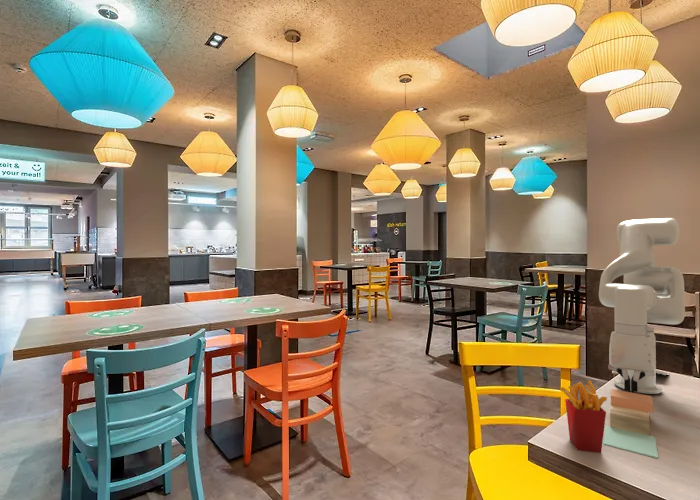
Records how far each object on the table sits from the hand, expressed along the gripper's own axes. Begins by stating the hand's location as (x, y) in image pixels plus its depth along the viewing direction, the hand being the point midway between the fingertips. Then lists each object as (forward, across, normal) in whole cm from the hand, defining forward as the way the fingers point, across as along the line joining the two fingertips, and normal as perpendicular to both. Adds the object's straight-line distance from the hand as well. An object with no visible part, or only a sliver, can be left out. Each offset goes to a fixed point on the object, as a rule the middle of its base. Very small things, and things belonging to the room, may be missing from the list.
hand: (630, 393), depth 107 cm
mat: (+5, 0, +22) cm, 22 cm away
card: (+1, 0, +7) cm, 7 cm away
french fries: (+5, +10, +30) cm, 32 cm away
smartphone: (+4, -6, -35) cm, 35 cm away
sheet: (+5, 0, +8) cm, 10 cm away
